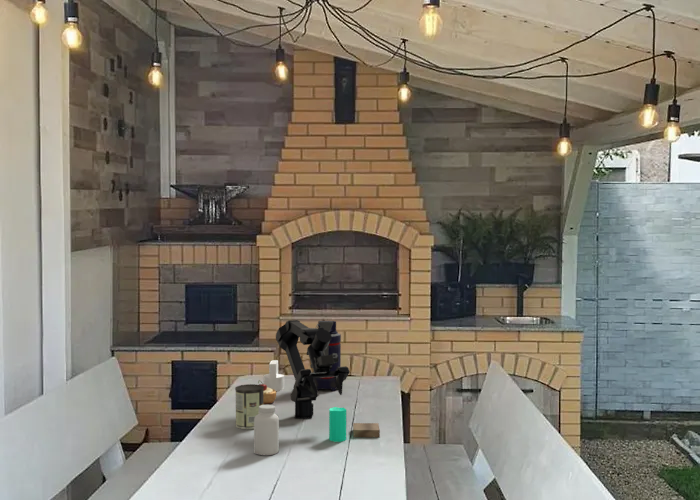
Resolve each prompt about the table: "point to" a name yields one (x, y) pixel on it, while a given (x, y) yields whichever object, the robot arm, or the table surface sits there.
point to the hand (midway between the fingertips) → (329, 395)
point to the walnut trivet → (366, 430)
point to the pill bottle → (266, 431)
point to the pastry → (268, 394)
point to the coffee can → (248, 404)
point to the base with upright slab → (274, 377)
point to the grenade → (332, 348)
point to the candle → (337, 424)
